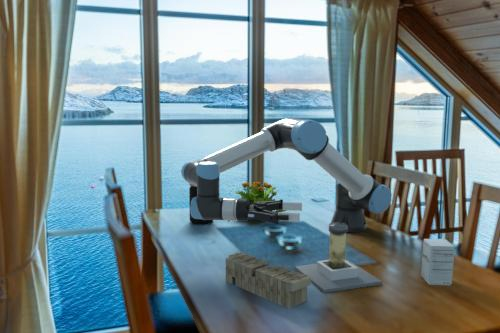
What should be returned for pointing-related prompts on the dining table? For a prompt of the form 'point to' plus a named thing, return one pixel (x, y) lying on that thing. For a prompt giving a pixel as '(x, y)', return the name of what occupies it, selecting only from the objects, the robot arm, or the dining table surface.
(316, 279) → the socket plate
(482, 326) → the dining table surface
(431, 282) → the supplement box
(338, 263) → the lidded glass jar
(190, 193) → the coffee jar
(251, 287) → the block tower
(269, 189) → the potted flower
